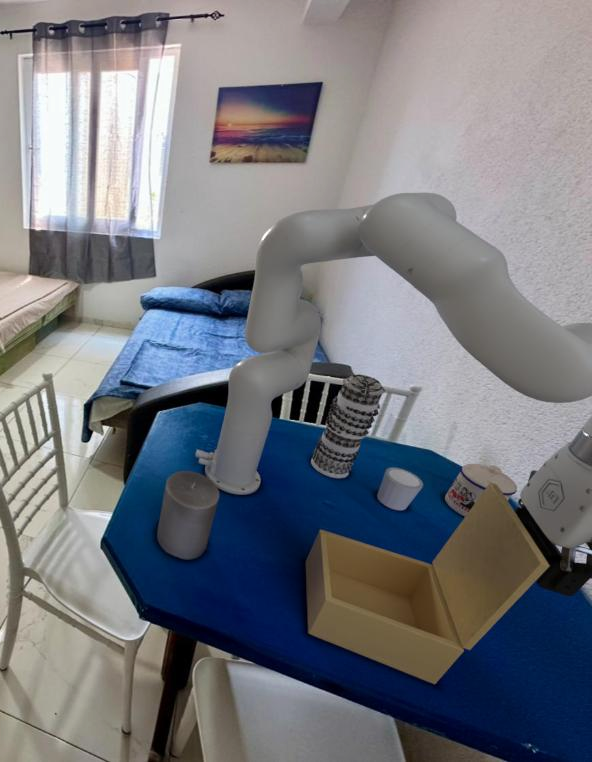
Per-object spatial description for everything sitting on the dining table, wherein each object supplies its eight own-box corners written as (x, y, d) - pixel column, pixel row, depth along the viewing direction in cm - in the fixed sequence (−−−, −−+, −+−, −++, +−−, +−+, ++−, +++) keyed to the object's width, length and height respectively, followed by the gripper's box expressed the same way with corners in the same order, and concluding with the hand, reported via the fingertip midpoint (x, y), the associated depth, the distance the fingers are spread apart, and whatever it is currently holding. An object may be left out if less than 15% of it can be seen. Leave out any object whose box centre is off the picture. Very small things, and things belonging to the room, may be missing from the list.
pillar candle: (189, 516, 86) (201, 461, 79) (216, 553, 78) (232, 496, 71) (148, 526, 83) (156, 470, 76) (171, 566, 75) (184, 508, 68)
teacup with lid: (433, 491, 95) (457, 452, 89) (474, 495, 94) (500, 455, 89) (472, 532, 85) (501, 491, 79) (518, 536, 84) (551, 495, 78)
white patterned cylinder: (359, 474, 100) (401, 385, 88) (332, 483, 97) (372, 392, 85) (326, 452, 107) (361, 367, 95) (301, 460, 104) (333, 373, 92)
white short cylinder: (416, 515, 88) (430, 491, 85) (381, 509, 90) (394, 485, 86) (401, 492, 94) (413, 469, 91) (368, 488, 96) (380, 465, 92)
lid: (540, 563, 46) (599, 581, 45) (489, 482, 58) (534, 494, 57) (462, 647, 55) (509, 665, 53) (431, 562, 67) (469, 574, 65)
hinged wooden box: (308, 633, 65) (325, 599, 61) (305, 561, 77) (320, 529, 73) (435, 684, 59) (464, 651, 55) (411, 598, 71) (433, 565, 67)
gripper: (539, 410, 53) (474, 505, 62) (626, 496, 40) (527, 604, 48) (617, 425, 51) (538, 522, 59) (740, 523, 37) (615, 632, 45)
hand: (533, 559), depth 53 cm, fingers open, 9 cm apart
